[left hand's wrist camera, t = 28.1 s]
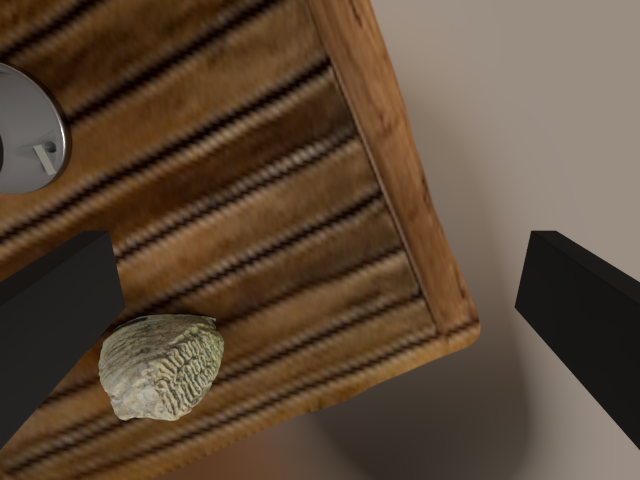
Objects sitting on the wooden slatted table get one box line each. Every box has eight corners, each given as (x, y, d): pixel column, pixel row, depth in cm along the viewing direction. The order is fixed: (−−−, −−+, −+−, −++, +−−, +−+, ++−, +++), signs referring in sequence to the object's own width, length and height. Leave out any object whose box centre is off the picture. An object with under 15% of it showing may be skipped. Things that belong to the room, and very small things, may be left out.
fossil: (240, 339, 58) (215, 419, 44) (132, 372, 60) (75, 459, 46) (214, 290, 55) (178, 360, 41) (101, 327, 57) (31, 405, 43)
